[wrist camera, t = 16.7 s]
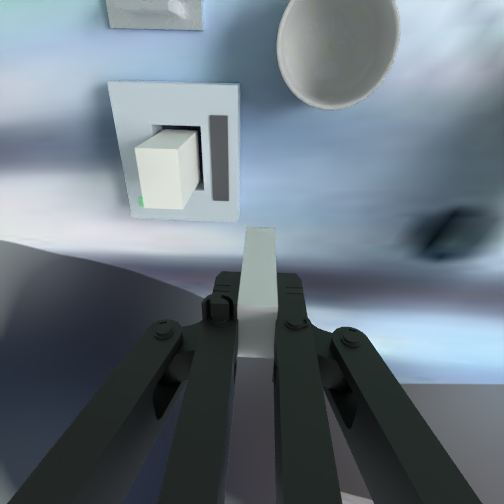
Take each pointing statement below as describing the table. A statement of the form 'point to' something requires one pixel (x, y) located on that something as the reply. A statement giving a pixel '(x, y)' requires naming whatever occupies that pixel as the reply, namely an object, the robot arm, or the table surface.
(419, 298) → the table surface
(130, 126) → the switch box
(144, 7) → the holster
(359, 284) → the table surface
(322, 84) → the teacup
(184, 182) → the plug
